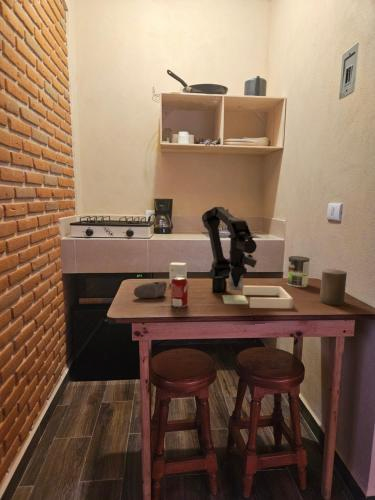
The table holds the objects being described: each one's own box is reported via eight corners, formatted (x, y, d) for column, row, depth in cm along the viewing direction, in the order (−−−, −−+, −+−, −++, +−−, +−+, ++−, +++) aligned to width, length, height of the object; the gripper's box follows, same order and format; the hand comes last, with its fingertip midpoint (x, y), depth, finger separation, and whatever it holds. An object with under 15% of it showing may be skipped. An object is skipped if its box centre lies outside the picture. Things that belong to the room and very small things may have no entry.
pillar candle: (345, 306, 130) (348, 271, 128) (319, 303, 134) (322, 269, 131) (342, 300, 139) (345, 267, 137) (318, 297, 143) (321, 265, 140)
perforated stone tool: (134, 300, 135) (134, 285, 134) (133, 297, 140) (133, 282, 139) (168, 298, 139) (168, 283, 138) (166, 294, 144) (166, 280, 143)
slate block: (230, 290, 134) (230, 274, 133) (228, 286, 139) (229, 271, 138) (241, 290, 134) (242, 274, 133) (240, 287, 139) (240, 271, 138)
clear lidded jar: (292, 287, 158) (293, 260, 155) (283, 282, 168) (285, 256, 165) (311, 287, 159) (313, 259, 156) (302, 281, 169) (303, 255, 166)
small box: (186, 282, 165) (186, 262, 163) (184, 285, 160) (184, 265, 158) (171, 281, 167) (172, 261, 165) (169, 284, 161) (169, 264, 159)
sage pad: (224, 303, 132) (224, 302, 132) (222, 296, 142) (222, 295, 142) (248, 304, 132) (248, 302, 132) (244, 296, 142) (244, 295, 142)
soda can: (181, 309, 125) (181, 280, 123) (167, 306, 128) (167, 278, 126) (190, 304, 131) (190, 276, 129) (177, 301, 134) (177, 274, 132)
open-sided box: (250, 307, 128) (250, 298, 127) (242, 294, 146) (243, 285, 145) (292, 308, 128) (293, 299, 127) (280, 294, 146) (280, 286, 145)
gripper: (260, 253, 124) (258, 291, 127) (251, 246, 142) (250, 279, 145) (232, 253, 124) (230, 291, 127) (227, 246, 143) (225, 279, 145)
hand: (235, 285), depth 136 cm, fingers closed on slate block, 5 cm apart
